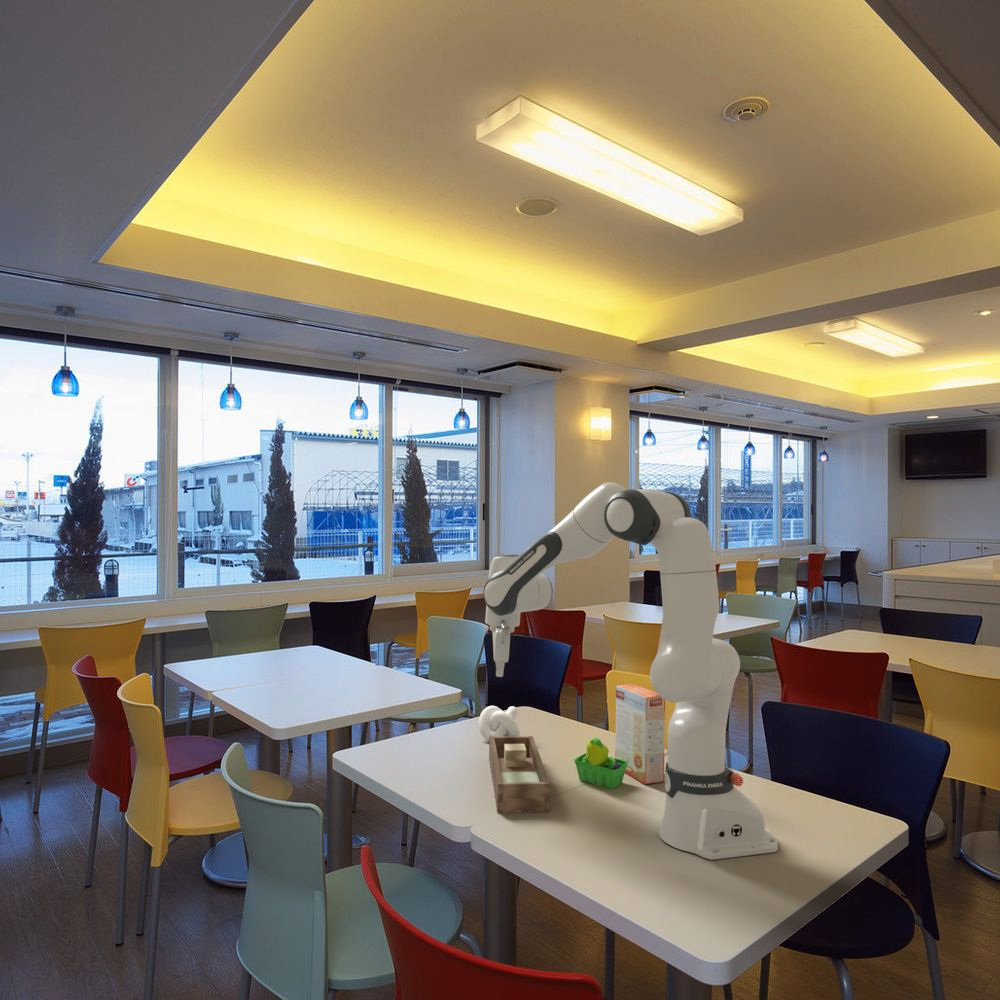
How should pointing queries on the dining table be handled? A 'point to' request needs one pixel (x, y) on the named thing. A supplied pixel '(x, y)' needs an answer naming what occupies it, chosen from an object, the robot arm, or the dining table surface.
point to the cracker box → (640, 732)
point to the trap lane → (519, 777)
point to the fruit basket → (600, 765)
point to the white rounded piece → (498, 722)
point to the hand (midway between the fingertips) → (499, 671)
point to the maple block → (515, 755)
